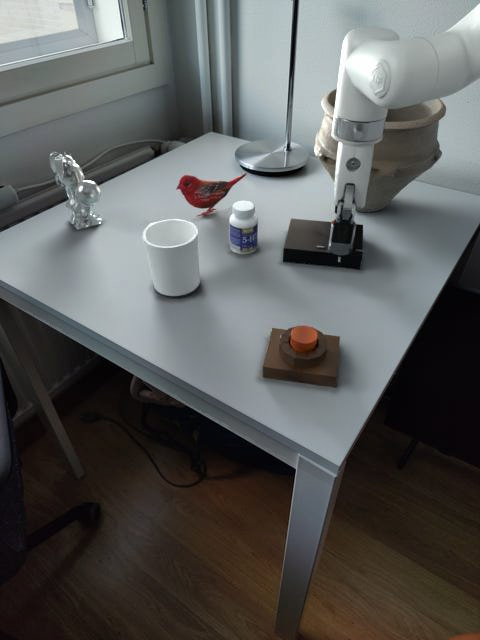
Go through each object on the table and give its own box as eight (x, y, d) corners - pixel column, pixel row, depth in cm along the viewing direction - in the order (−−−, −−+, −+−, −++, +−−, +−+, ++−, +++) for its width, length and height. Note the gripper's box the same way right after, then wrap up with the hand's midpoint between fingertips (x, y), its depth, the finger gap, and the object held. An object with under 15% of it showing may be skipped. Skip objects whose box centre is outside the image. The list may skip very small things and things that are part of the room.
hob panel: (361, 238, 91) (364, 223, 89) (361, 278, 81) (364, 263, 79) (290, 231, 93) (290, 217, 91) (280, 270, 83) (281, 255, 81)
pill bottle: (244, 258, 86) (244, 215, 80) (224, 248, 89) (222, 206, 83) (263, 246, 89) (264, 204, 83) (243, 237, 92) (242, 196, 86)
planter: (434, 192, 105) (464, 87, 90) (412, 244, 89) (444, 126, 74) (329, 172, 114) (341, 74, 99) (292, 216, 98) (299, 106, 83)
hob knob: (352, 243, 84) (356, 217, 80) (351, 256, 81) (356, 229, 77) (329, 241, 84) (332, 215, 81) (327, 254, 81) (331, 227, 78)
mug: (212, 285, 80) (209, 233, 73) (170, 307, 76) (162, 254, 69) (176, 259, 86) (169, 209, 80) (135, 278, 82) (124, 227, 75)
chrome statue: (117, 233, 94) (101, 161, 84) (89, 243, 91) (69, 170, 81) (86, 206, 102) (68, 138, 92) (59, 215, 100) (38, 146, 90)
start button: (317, 336, 65) (318, 327, 64) (315, 354, 62) (316, 345, 61) (291, 333, 65) (292, 323, 64) (288, 350, 63) (289, 341, 62)
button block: (338, 346, 68) (341, 326, 66) (335, 387, 62) (339, 367, 60) (271, 338, 70) (272, 318, 67) (262, 377, 64) (262, 357, 61)
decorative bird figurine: (176, 221, 97) (170, 176, 90) (243, 197, 105) (242, 153, 98) (183, 227, 95) (178, 181, 89) (251, 201, 103) (251, 158, 96)
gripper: (385, 150, 62) (364, 257, 73) (382, 108, 74) (364, 205, 86) (329, 147, 63) (316, 252, 74) (335, 106, 75) (323, 202, 87)
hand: (342, 227), depth 80 cm, fingers open, 9 cm apart
